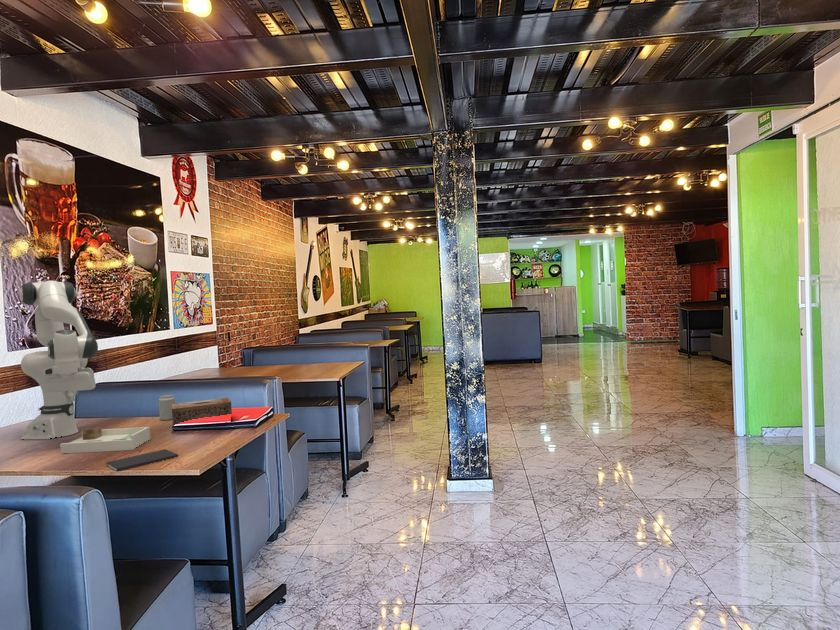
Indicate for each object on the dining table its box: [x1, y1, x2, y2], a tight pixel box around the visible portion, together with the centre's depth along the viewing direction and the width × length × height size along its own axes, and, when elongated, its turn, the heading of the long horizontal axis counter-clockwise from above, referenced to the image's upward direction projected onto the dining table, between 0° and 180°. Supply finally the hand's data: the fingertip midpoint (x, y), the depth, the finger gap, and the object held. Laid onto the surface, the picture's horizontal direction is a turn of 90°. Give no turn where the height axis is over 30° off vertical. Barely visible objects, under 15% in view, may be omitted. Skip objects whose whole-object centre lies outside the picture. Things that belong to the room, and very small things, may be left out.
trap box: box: [59, 426, 151, 454], centre depth 234 cm, size 28×16×6 cm, turn 92°
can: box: [158, 394, 176, 422], centre depth 284 cm, size 8×8×12 cm
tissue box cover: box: [172, 397, 233, 427], centre depth 271 cm, size 26×14×10 cm, turn 114°
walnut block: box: [81, 426, 102, 440], centre depth 237 cm, size 5×5×4 cm
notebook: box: [105, 449, 179, 472], centre depth 209 cm, size 13×2×21 cm
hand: (70, 401), depth 237 cm, fingers closed
